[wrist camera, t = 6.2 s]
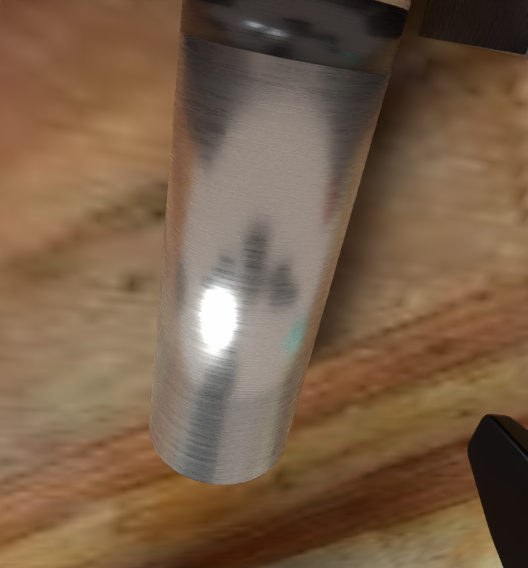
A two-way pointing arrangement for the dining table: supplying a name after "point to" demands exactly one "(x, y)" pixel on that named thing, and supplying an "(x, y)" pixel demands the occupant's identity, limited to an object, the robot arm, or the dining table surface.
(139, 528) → the dining table surface
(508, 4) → the cradle collar
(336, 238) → the tube
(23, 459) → the dining table surface
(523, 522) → the robot arm
